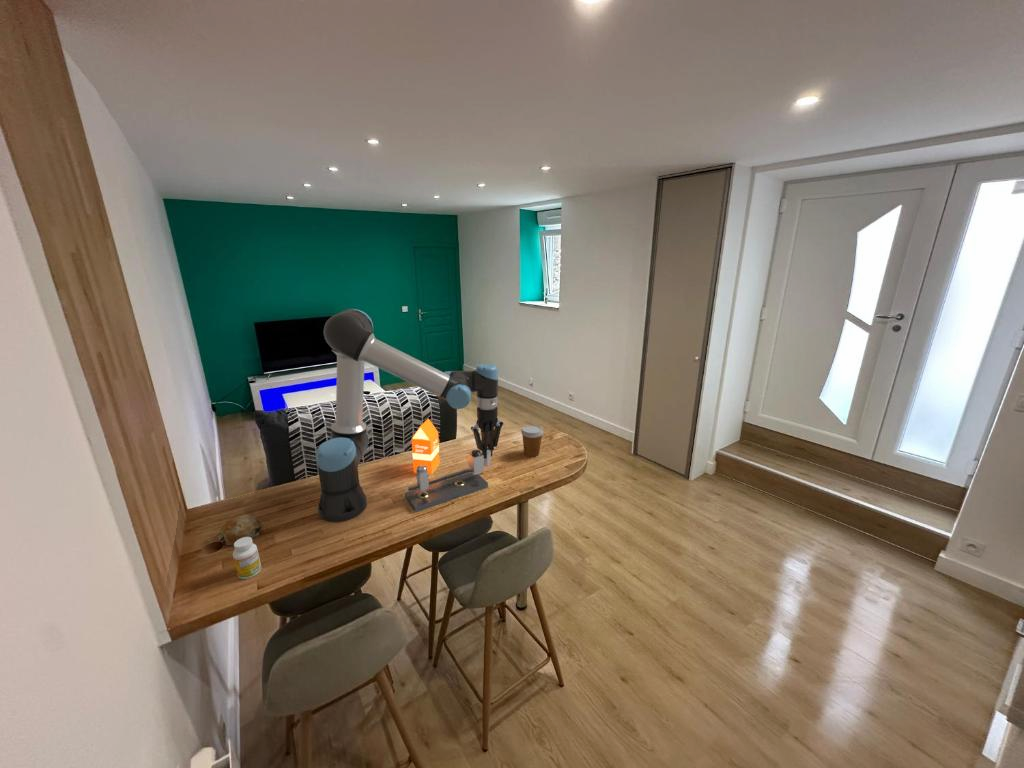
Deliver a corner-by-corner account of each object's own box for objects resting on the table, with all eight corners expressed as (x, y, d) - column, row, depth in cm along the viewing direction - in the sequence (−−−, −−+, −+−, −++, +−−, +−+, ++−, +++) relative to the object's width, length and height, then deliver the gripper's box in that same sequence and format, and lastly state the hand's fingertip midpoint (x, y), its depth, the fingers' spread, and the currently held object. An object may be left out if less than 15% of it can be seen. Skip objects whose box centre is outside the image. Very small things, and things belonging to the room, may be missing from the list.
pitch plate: (415, 512, 132) (413, 478, 128) (405, 498, 140) (402, 465, 136) (487, 487, 147) (487, 455, 143) (474, 475, 155) (474, 445, 151)
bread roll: (250, 555, 117) (259, 532, 116) (210, 548, 113) (219, 525, 112) (260, 533, 126) (268, 512, 125) (223, 527, 122) (231, 505, 121)
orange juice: (439, 463, 163) (437, 418, 157) (432, 474, 155) (429, 427, 149) (421, 461, 165) (419, 417, 159) (413, 472, 156) (410, 425, 150)
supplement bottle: (239, 568, 107) (232, 538, 104) (262, 562, 110) (256, 532, 107) (236, 582, 103) (228, 551, 100) (260, 575, 105) (253, 545, 102)
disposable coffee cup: (541, 460, 167) (542, 434, 163) (518, 458, 169) (519, 432, 165) (543, 450, 176) (544, 425, 172) (522, 448, 178) (523, 423, 174)
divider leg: (474, 479, 146) (473, 455, 143) (469, 474, 149) (468, 451, 146) (483, 476, 148) (483, 452, 145) (478, 471, 151) (478, 448, 148)
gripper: (476, 413, 137) (477, 473, 144) (508, 406, 144) (507, 464, 151) (466, 406, 143) (467, 465, 150) (496, 400, 150) (496, 456, 157)
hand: (487, 464), depth 150 cm, fingers closed
